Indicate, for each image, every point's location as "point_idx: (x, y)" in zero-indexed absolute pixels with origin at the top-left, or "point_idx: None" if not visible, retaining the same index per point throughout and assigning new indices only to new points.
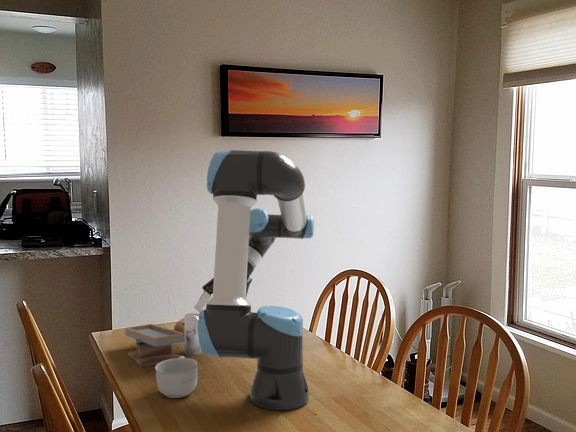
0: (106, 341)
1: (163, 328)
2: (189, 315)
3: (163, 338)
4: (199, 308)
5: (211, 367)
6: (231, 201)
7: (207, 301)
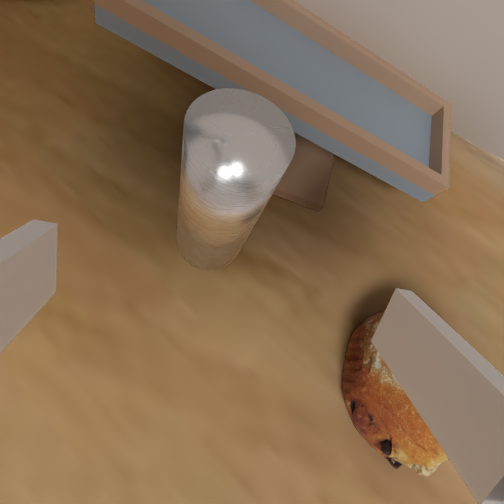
0: (479, 165)
1: (313, 100)
2: (255, 120)
3: None
4: (389, 332)
5: (23, 160)
6: None
7: (430, 428)
